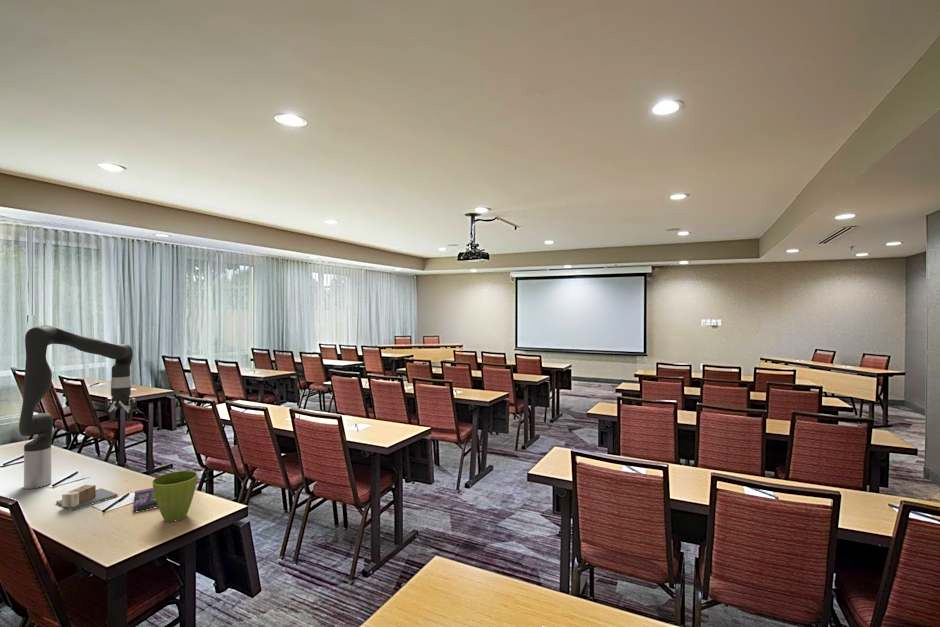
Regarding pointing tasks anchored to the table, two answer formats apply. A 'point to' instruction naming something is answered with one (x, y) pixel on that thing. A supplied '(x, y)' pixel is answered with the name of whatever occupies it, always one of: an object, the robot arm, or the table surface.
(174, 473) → the flower pot
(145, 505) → the box
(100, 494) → the mat
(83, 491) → the block
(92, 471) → the table surface
